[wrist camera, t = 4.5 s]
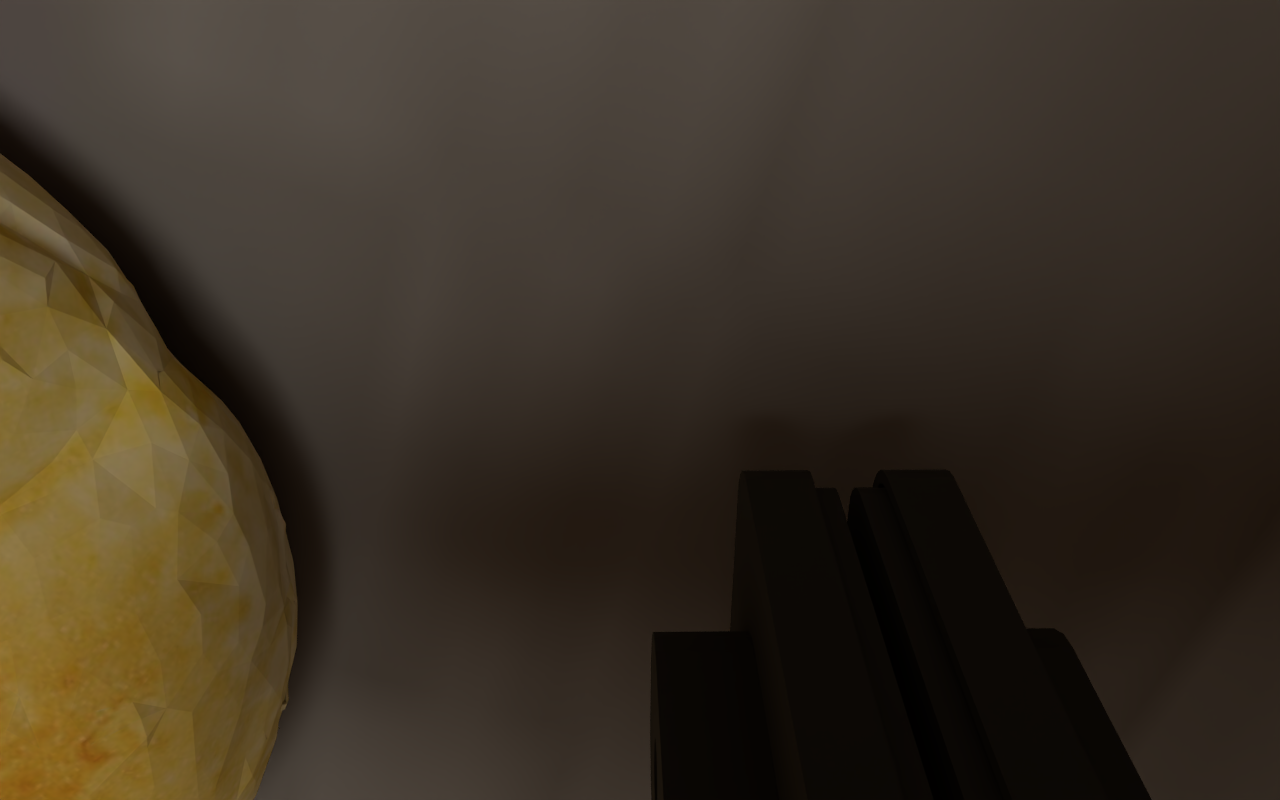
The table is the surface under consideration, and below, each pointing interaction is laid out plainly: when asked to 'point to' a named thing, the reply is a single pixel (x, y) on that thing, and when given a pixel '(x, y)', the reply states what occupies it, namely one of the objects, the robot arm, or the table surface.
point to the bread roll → (125, 542)
